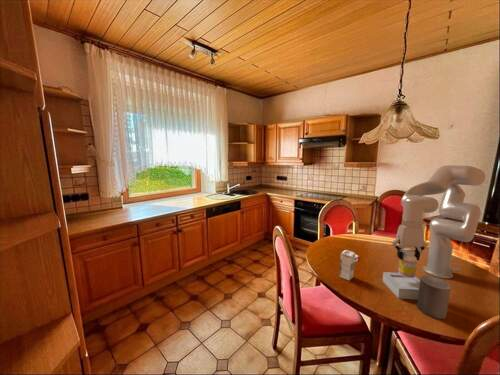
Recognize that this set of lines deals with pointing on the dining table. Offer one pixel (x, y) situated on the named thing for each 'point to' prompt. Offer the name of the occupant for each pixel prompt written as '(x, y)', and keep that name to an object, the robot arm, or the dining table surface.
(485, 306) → the dining table surface
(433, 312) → the pillar candle
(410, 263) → the supplement bottle
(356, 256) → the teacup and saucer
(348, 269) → the syrup box
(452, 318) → the dining table surface
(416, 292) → the gray square tray
